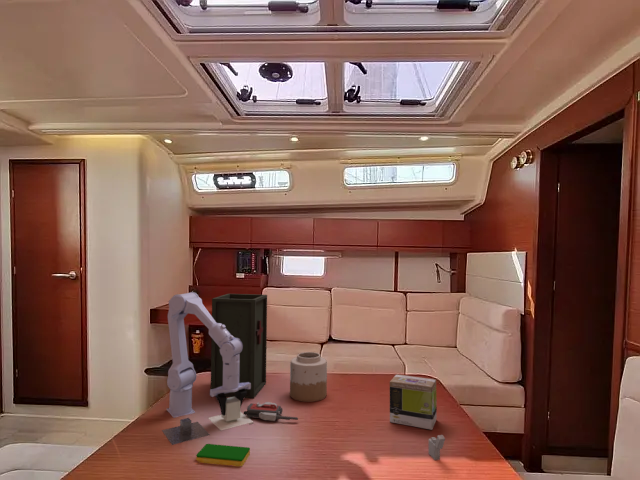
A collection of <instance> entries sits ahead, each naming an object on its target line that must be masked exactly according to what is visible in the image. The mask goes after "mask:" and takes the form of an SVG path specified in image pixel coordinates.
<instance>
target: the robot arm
mask: <svg viewBox="0 0 640 480" xmlns="http://www.w3.org/2000/svg"><path fill="white" fill-rule="evenodd" d="M188 314H190V315H194V316H195V317H196V318H197V319H198V320H199V321H200V322H201V323H202V324H203V325H204V326H205V327H206V328H207V329H208V335H209V336H210V338H212V339H213V340H214V341H215V342H216V344H217V345H218V346H219V347H220V348H221V349H220V354H221V355H222V358H223V386H220V387H218V388H215V389H211V388H210V389H209V396H210V397H212V398H213V397H215V398H216V400H217V402H218V405H219V408H220V415H221V414H222V415H223V416H224V415H225V411H226V400H227V398H228V397H225V395H224V394H225V393H230V392H235V396H236V398H237V399H239V400H240V410H241V409H242V404H243V401H244V399H246V398H245V396H246V393H247V392H246V391H245V389H251V383H249V382H246V383H239V363H240V354H239V353H240V352H241V351H242V349H243V345H242V342H241V341H240V339H238V338H234V336H233V335H231V334H230V333H229V332H228V330H227V329H226V328H225V327H226V326H225V325H222V324H221V323H216V321H215V320H214V319H213V317H212V314H211V313H210V312H209V311H208V309H207V308H206V307H205V305H204V304H203V299H202V298H201V297H199V294H197V292H194V291H191V292H186V293H181V294H178V293H177V294H174V295H173V296H172V297H171V298H170V299H169V300H168V312H167V323H168V332H169V340H170V349H171V361H172V364H171V366H170V367H169V369H168V372H167V375H168V377H167V379H166V382H167V384H166V385H167V387H168V388H169V401H168V402H169V404H168V407H169V408H166V411H167V413H169V414H170V415H171V417H172V418H178V417H183V416H188V415H192V414H196V411H195V410H194V409H193V408H192V407H193V404H192V403H193V387H194V383H195V381H196V380H197V372H196V370H195V368H194V364H193V362H191V361H190V360H189V354H188V346H187V338H186V329H185V320H184V319H185V318H186V316H187V315H188ZM237 354H238V355H237Z"/></svg>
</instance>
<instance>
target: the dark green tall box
mask: <svg viewBox="0 0 640 480" xmlns="http://www.w3.org/2000/svg"><path fill="white" fill-rule="evenodd" d="M211 316H212V317H213V319H214V320H215V321H216V323H221V324H222V325H225V326H226V327H225V328H226V329H227V330H228V332H229V333H230V334H231V335H233V336H234V338H238V339H240V341H241V342H242V345H243V349H242V351H241V352H240V353H239V354H240V363H239V383H246V382H249V383H251V389H245V391H246V392H247V393H246V396H245V398H244V399H255V398H256V397H257V395H259V393H260V392H261V391H262V389H263V388H264V387H265V386H266V384H267V348H268V347H267V346H268V345H267V339H268V338H267V337H268V336H267V333H268V330H267V328H268V323H267V322H268V294H258V293H257V294H249V293H226V294H223V295H219V296H217V297H213V298H211ZM210 338H211V337H210ZM210 340H211V342H210V343H211V344H210V347H211V348H210V350H211V351H210V353H211V354H210V390H211V389H215V388H218V387H220V386H223V358H222V355H221V354H220V349H221V348H220V347H219V346H218V345H217V344H216V342H215V341H214V340H213V339H212V338H211V339H210ZM237 355H238V354H237ZM264 385H265V386H264ZM224 395H225V397H227V398H230V397H236V396H235V392H230V393H225V394H224Z"/></svg>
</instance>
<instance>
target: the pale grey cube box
mask: <svg viewBox="0 0 640 480" xmlns="http://www.w3.org/2000/svg"><path fill="white" fill-rule="evenodd" d="M240 411H241V409H240V400H239V399H237V398H236V397H227V400H226V411H225V415H224V416H223V415H222V414H221V413H220V415H221V417H222V418H223V419H225V420H226V421H231V420H235V419H239V418H240Z"/></svg>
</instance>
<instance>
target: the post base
mask: <svg viewBox="0 0 640 480" xmlns="http://www.w3.org/2000/svg"><path fill="white" fill-rule="evenodd" d="M179 421H180V422H179V423H180V424H179V426H175V427H174V426H173V427H169V428H166V429H162V430H161V432H162V433H163V434H164V436H165V437H166V438H167V440H168V442H170V444H171V446H174V445H177V444H181V443H185V442H189V441H192V440H196V439H200V438H204V437H207V436H211V434H210V433H209V432H208V431H207V430H206V429H205V428H204V427H203V426H202V425H201V423H199V422H198V421H195V422H192V420H191V419H190V417H187V418H182V419H180V420H179Z"/></svg>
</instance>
